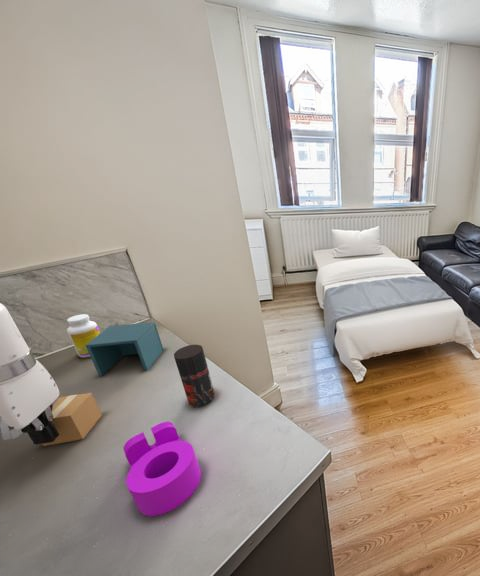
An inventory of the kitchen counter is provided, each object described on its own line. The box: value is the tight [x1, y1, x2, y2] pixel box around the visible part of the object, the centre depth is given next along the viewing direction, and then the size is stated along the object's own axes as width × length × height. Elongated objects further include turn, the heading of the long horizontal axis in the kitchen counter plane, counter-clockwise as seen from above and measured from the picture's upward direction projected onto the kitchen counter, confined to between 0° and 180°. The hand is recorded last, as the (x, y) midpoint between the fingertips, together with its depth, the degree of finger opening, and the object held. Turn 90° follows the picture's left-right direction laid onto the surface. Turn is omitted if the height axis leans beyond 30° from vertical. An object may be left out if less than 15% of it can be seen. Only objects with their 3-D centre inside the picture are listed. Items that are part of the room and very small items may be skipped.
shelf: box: [86, 321, 164, 377], centre depth 87 cm, size 11×12×11 cm
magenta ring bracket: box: [123, 421, 202, 517], centre depth 55 cm, size 16×10×6 cm, turn 48°
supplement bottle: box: [66, 313, 101, 359], centre depth 91 cm, size 7×7×13 cm
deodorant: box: [173, 344, 216, 409], centre depth 72 cm, size 6×6×15 cm
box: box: [41, 392, 103, 447], centre depth 64 cm, size 7×7×7 cm
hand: (47, 440), depth 59 cm, fingers closed
